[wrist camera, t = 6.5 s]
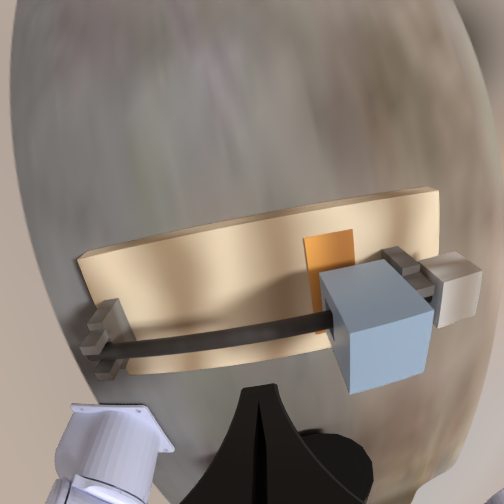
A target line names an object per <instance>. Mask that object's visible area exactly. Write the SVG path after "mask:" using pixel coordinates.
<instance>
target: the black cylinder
mask: <svg viewBox="0 0 504 504" xmlns="http://www.w3.org/2000/svg"><path fill="white" fill-rule="evenodd" d="M301 438H302V439H303V441H304V442H305V443H306V445H307V446H308V448H309V449H310V450H311V451H312V453H313V454H314V455H315V457H316V458H317V459H318V460H319V461H320V462H321V464H322V465H323V466H324V467H325V468H326V469H327V470H328V471H329V472H330V473H331V474H332V475H333V476H334V477H335V478H336V479H337V480H338V481H339V482H340V483H341V484H342V485H343V486H345V487H346V488H347V489H348V490H349V491H350V492H352V493H353V494H354V495H355V496H357V497H358V498H359V499H360V500H362V501H363V502H364V503H365V504H366V502H367V499H368V496H369V493H370V490H371V487H372V484H373V481H374V479H373V468H372V461H371V460H370V458H369V457H368V455H367V454H366V452H365V450H364V449H363V447H362V446H360V445H359V444H357V443H356V442H354V441H353V440H352V439H349V438H346V437H344V436H341V435H338V434H323V433H316V434H312V435H308V436H304V437H301Z"/></svg>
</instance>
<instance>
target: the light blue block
mask: <svg viewBox="0 0 504 504" xmlns="http://www.w3.org/2000/svg"><path fill="white" fill-rule="evenodd" d="M319 279H320V288H321V298H322V309H323V311H326V310H331V311H332V314H333V324H334V328H331V329H326V330H325V331H326V334H327V336H328V339H329V341H330V344H331V346H332V349H333V352H334V354H335V357H336V359H337V362H338V365H339V367H340V370H341V373H342V375H343V378H344V381H345V383H346V386H347V389H348V392H349V394H350V395H351V394H354V393H358V392H362V391H366V390H369V389H373V388H376V387H379V386H383V385H386V384H389V383H393V382H396V381H399V380H402V379H405V378H408V377H411V376H414V375H416V374H419V373H422V372H424V368H425V363H426V358H427V353H428V348H429V342H430V336H431V330H432V323H433V316H434V309H433V308H432V307H431V306H430V305H429V304H428V302H427V301H426V300H425V299H424V298H423V297H422V296H421V295H420V294H419V293H418V292H417V291H416V290H415V289H414V288H413V287H412V286H411V285H410V284H409V283H408V282H407V281H406V280H405V279H404V278H403V277H402V276H401V275H400V274H399V273H398V272H397V271H396V270H395V269H394V268H393V267H392V266H391V265H390V264H389V263H388V262H387V261H386V260H385V259H382V260H377V261H373V262H368V263H363V264H359V265H354V266H349V267H344V268H340V269H335V270H330V271H325V272H320V273H319Z"/></svg>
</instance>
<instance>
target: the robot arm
mask: <svg viewBox="0 0 504 504" xmlns="http://www.w3.org/2000/svg"><path fill="white" fill-rule="evenodd" d="M70 407H71V409H72V410H73V412H74V413H73V415H72V417H71V419H70V421H69V423H68V425H67V428H66V430H65V432H64V434H63V436H62V438H61V440H60V443H59V445H58V447H57V449H56V453H55V468H56V472H57V474H58V476H59V478H60V479H56V481H55V483H54V485H53V486H52V489H51V491H50V493H49V496H48V498H47V501H46V504H148V499H149V495H150V489H151V484H152V479H153V474H154V469H155V465H156V460H157V455H158V452H174V450H175V448H174V447H173V445H172V444H171V442H170V441H169V439H168V438H167V436H166V435H165V434H164V432H163V431H162V429H161V428H160V426H159V425H158V423H157V421H156V420H155V418H154V417H153V415H152V414H151V412H150V410H149V409H148V408H147V407H146V406H144V405H95V404H76V403H72V404H71V406H70ZM180 504H365V503H364V502H363V501H362V500H360V499H359V498H358V497H357V496H355V495H354V494H353V493H352V492H350V491H349V490H348V489H347V488H346V487H345V486H343V485H342V484H341V483H340V482H339V481H338V480H337V479H336V478H335V477H334V476H333V475H332V474H331V473H330V472H329V471H328V470H327V469H326V468H325V467H324V466H323V465H322V464H321V462H320V461H319V460H318V459H317V458H316V457H315V455H314V454H313V453H312V451H311V450H310V449H309V448H308V446H307V445H306V443H305V442H304V441H303V439H302V438H301V436H300V435H299V433H298V432H297V430H296V428H295V427H294V425H293V423H292V421H291V420H290V418H289V416H288V414H287V412H286V410H285V408H284V406H283V403H282V401H281V398H280V395H279V391H278V386H277V385H276V384H274V383H273V384H267V385H261V386H254V387H247V388H243V389H242V390H241V394H240V398H239V402H238V405H237V409H236V411H235V414H234V417H233V420H232V422H231V425H230V427H229V430H228V432H227V434H226V436H225V438H224V441H223V443H222V445H221V447H220V449H219V451H218V452H217V454H216V456H215V458H214V459H213V461H212V463H211V464H210V466H209V467H208V469H207V470H206V472H205V473H204V475H203V476H202V478H201V479H200V480H199V482H198V483H197V484H196V485H195V487H194V488H193V489H192V490H191V491H190V493H189V494H188V495H187V496H186V497H185V498H184V499H183V500H182V501H181V503H180ZM485 504H504V488H503V489H502V490H500V491H499V492H497V493H496V494H495V495H493V496H492V497H491V498H490V499H489V500H488V501H487V502H486V503H485Z"/></svg>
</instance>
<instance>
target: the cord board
mask: <svg viewBox="0 0 504 504" xmlns="http://www.w3.org/2000/svg"><path fill="white" fill-rule="evenodd" d="M438 251H439V191H438V190H436V189H433V188H430V187H420V188H413V189H406V190H399V191H392V192H386V193H379V194H373V195H366V196H360V197H354V198H348V199H342V200H336V201H330V202H324V203H318V204H312V205H307V206H301V207H295V208H290V209H284V210H279V211H274V212H268V213H263V214H258V215H252V216H247V217H242V218H237V219H232V220H227V221H222V222H217V223H212V224H207V225H202V226H198V227H193V228H188V229H183V230H179V231H174V232H169V233H165V234H160V235H156V236H151V237H147V238H142V239H138V240H133V241H129V242H125V243H120V244H116V245H112V246H108V247H104V248H99V249H95V250H91V251H87V252H86V253H84V254H83V255H82V256H81V257H80V258H78V259H77V261H78V263H79V266H80V269H81V271H82V274H83V277H84V279H85V282H86V284H87V287H88V289H89V292H90V294H91V296H92V299H93V301H94V303H95V306H96V308H97V310H96V312H95V313H94V315H93V316H92V317H91V319H90V320H89V321H88V323H87V326H88V328H89V330H90V331H89V333H88V334H87V336H86V337H85V339H84V340H83V342H82V343H81V345H80V346H79V348H80V350H81V352H82V354H83V355H87V357H88V359H89V360H91V361H96V360H101V361H100V363H99V364H98V366H97V368H96V370H95V372H94V375H95V376H96V378H97V380H98V381H104V380H114V379H115V377H116V375H117V372H118V370H119V369H122V368H125V367H126V369H127V371H128V373H129V375H139V374H154V373H167V372H178V371H188V370H198V369H207V368H215V367H223V366H230V365H237V364H244V363H250V362H257V361H263V360H269V359H274V358H280V357H285V356H291V355H296V354H301V353H306V352H311V351H316V350H320V349H325V348H329V347H332V346H331V344H330V341H329V339H328V336H327V334H326V331H325V330H326V329H331V328H334V324H333V314H332V311H331V310H326V311H323V309H322V298H321V288H320V279H319V273H320V272H325V271H330V270H335V269H340V268H344V267H349V266H354V265H359V264H363V263H368V262H373V261H377V260H382V259H385V260H386V261H387V262H388V263H389V264H390V265H391V266H392V267H393V268H394V269H395V270H396V271H397V272H398V273H399V274H400V275H401V276H402V277H403V278H404V279H405V280H406V281H407V282H408V283H409V284H410V285H411V286H412V287H413V288H414V289H415V290H416V291H417V292H418V293H419V294H420V295H421V296H422V297H423V298H424V299H425V300H426V301H427V302H428V304H429V305H430V306H431V307H432V308H433V309H434V316H433V324H434V325H435V326H436V327H437V329H438V328H441V327H444V326H447V325H449V324H452V323H455V322H458V321H460V320H463V319H465V318H468V317H471V316H473V315H475V313H476V308H477V303H478V297H479V292H480V286H481V279H482V272H483V270H482V269H480V268H479V267H477V266H476V265H474V264H473V263H471V262H470V261H469V260H467V259H466V258H464V257H463V256H461V255H460V254H458V253H457V252H455V251H454V252H450V253H446V254H443V255H439V256H438Z"/></svg>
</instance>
